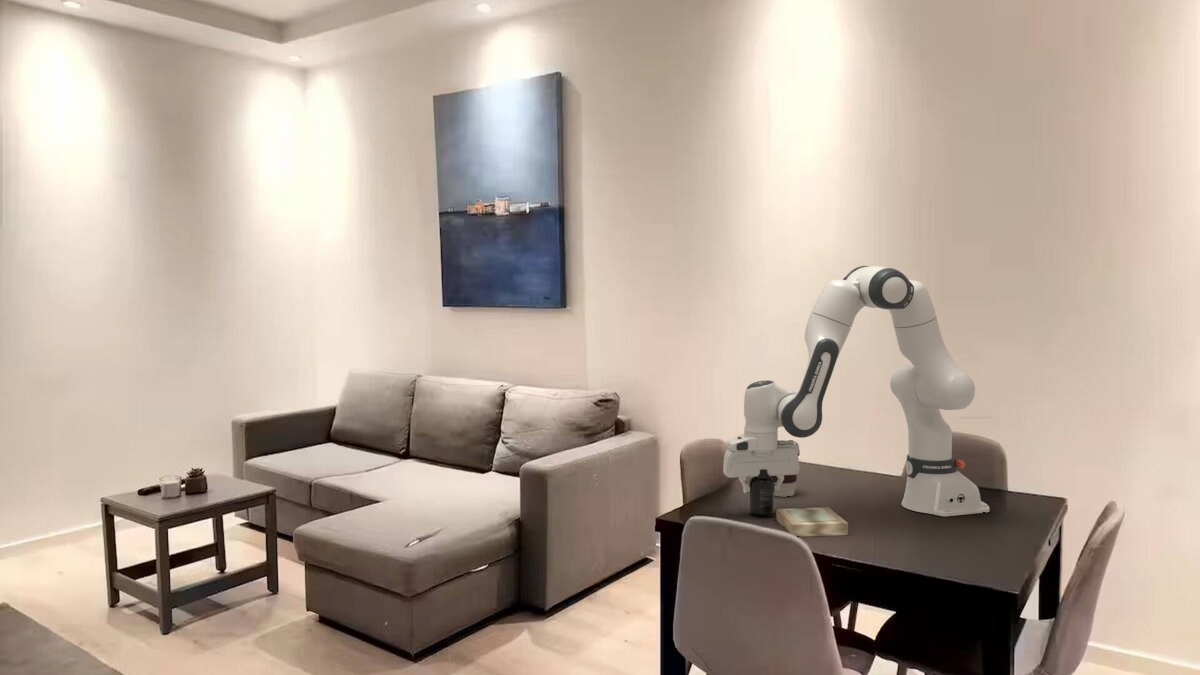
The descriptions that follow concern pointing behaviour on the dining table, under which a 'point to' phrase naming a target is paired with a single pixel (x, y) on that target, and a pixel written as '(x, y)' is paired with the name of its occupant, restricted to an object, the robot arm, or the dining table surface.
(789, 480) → the coffee cup
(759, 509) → the supplement bottle
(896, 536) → the dining table surface
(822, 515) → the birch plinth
